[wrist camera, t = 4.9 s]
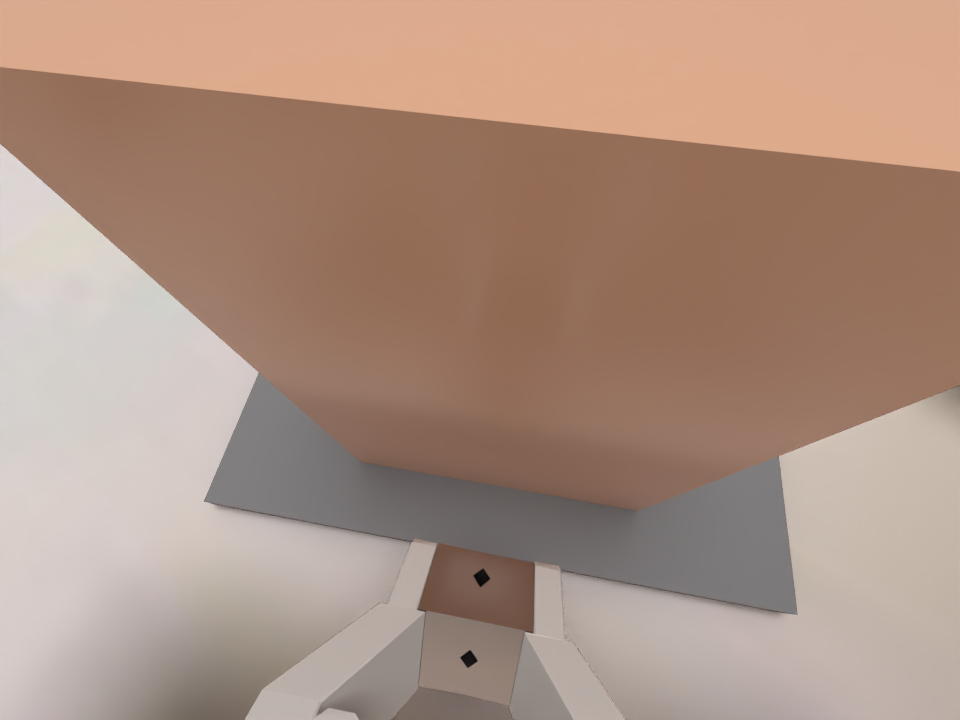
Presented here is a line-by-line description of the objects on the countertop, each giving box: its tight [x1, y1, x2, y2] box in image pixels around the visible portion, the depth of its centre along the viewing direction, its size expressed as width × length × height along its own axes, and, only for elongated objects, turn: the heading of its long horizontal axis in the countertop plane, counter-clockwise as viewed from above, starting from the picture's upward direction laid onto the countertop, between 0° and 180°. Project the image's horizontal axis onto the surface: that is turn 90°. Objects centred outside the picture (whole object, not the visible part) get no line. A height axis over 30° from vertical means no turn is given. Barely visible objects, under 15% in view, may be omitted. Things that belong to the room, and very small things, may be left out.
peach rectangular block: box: [0, 0, 960, 511], centre depth 10 cm, size 10×3×14 cm, turn 80°
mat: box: [204, 373, 797, 615], centre depth 19 cm, size 20×21×1 cm
